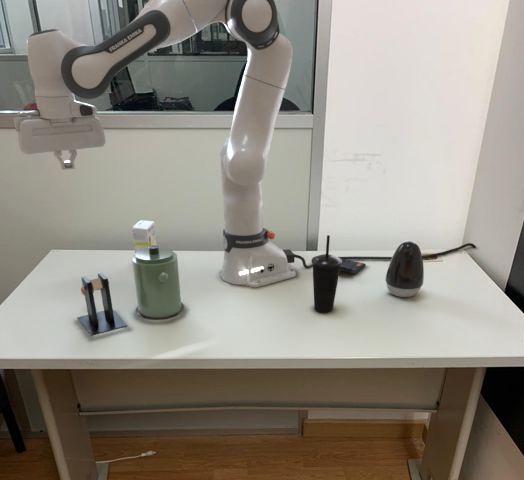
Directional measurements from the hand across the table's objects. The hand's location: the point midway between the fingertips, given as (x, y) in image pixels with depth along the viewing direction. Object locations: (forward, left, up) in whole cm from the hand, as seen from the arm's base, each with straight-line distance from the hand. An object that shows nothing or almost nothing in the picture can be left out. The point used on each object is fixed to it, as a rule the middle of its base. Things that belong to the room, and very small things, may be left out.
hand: (68, 168), depth 133 cm
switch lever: (+1, +20, -26) cm, 33 cm away
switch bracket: (0, +23, -33) cm, 41 cm away
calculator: (-74, +15, -31) cm, 82 cm away
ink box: (-20, -16, -33) cm, 42 cm away
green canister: (-15, +22, -33) cm, 42 cm away
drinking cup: (-55, +37, -33) cm, 74 cm away
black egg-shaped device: (-80, +37, -33) cm, 94 cm away
